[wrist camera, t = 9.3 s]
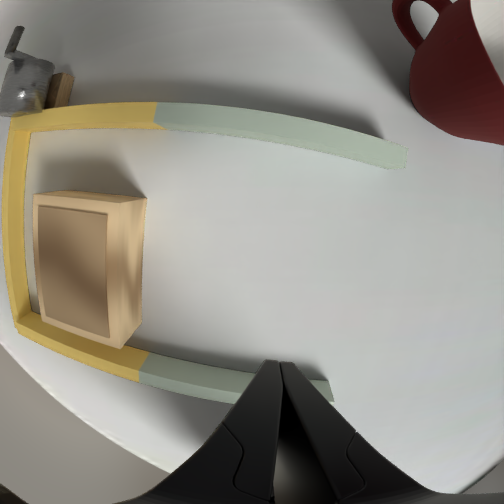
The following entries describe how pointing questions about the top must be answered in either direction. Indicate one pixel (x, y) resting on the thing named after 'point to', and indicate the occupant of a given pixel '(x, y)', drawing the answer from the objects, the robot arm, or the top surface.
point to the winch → (31, 83)
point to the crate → (90, 263)
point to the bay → (168, 118)
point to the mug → (459, 67)
